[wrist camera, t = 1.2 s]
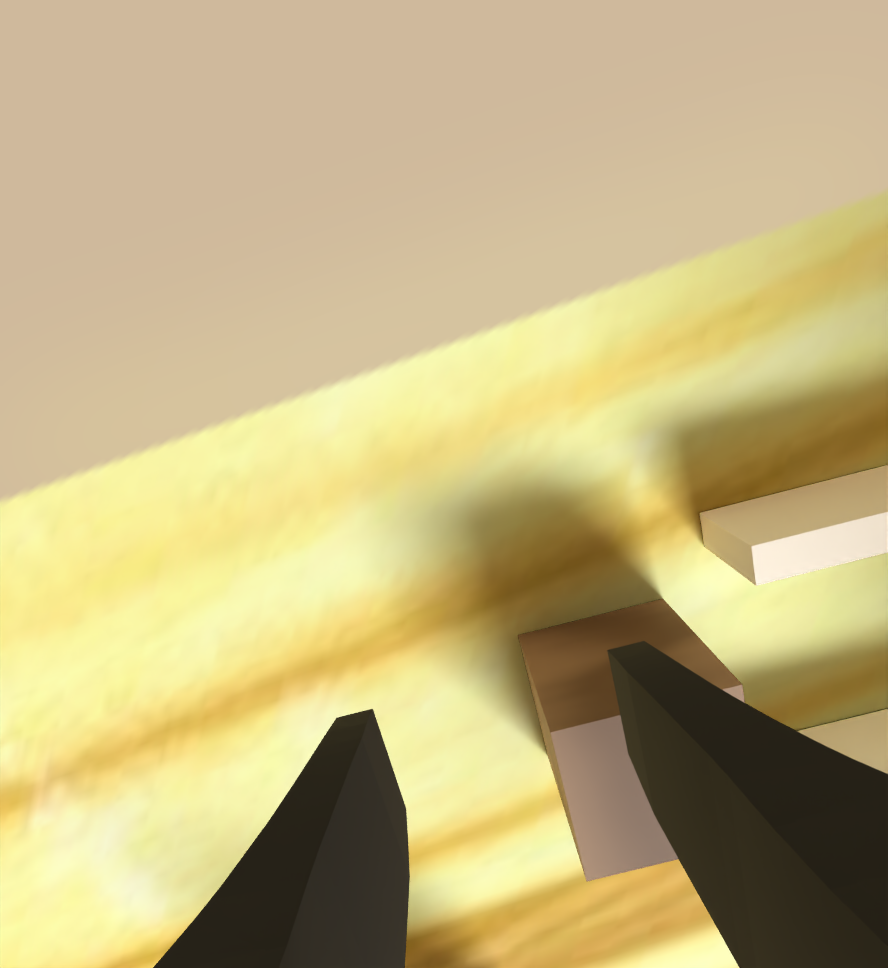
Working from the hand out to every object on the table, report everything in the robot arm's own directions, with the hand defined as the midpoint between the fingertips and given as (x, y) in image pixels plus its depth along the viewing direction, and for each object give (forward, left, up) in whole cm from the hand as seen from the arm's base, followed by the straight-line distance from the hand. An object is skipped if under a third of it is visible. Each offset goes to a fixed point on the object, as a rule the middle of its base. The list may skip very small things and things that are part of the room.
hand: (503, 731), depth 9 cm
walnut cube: (-4, +6, -10) cm, 12 cm away
